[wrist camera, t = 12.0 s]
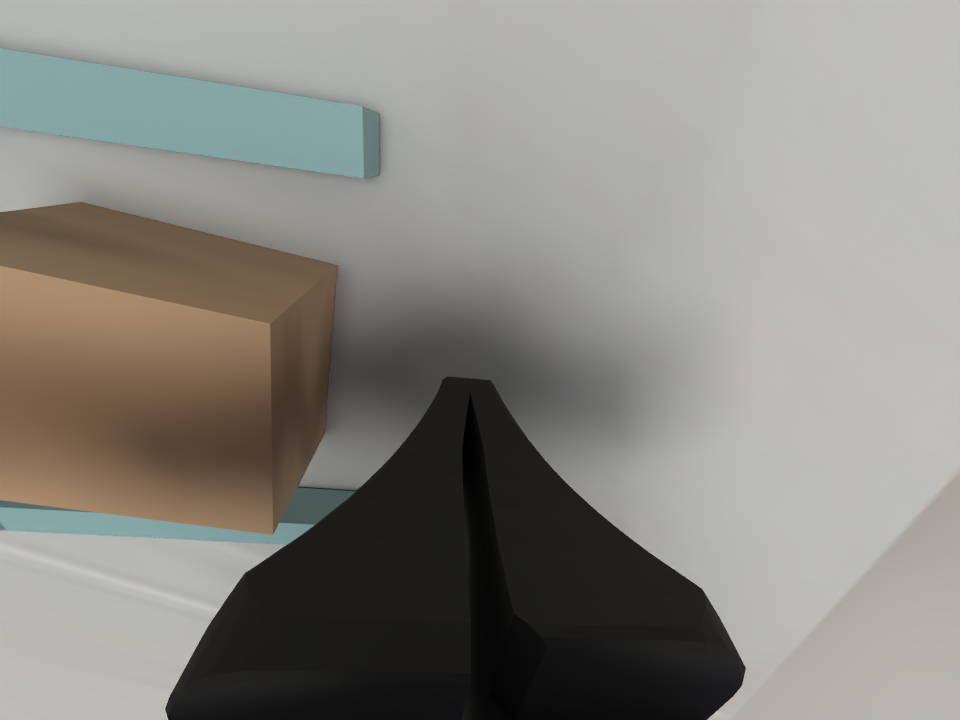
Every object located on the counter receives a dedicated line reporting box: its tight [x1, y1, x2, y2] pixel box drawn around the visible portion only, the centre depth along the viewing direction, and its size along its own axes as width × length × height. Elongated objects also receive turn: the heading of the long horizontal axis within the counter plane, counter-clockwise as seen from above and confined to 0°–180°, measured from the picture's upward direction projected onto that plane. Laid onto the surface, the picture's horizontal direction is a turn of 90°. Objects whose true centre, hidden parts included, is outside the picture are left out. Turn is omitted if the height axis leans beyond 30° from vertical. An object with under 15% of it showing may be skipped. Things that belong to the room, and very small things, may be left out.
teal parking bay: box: [0, 48, 380, 545], centre depth 10 cm, size 13×13×2 cm
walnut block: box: [0, 202, 338, 535], centre depth 9 cm, size 6×6×4 cm
